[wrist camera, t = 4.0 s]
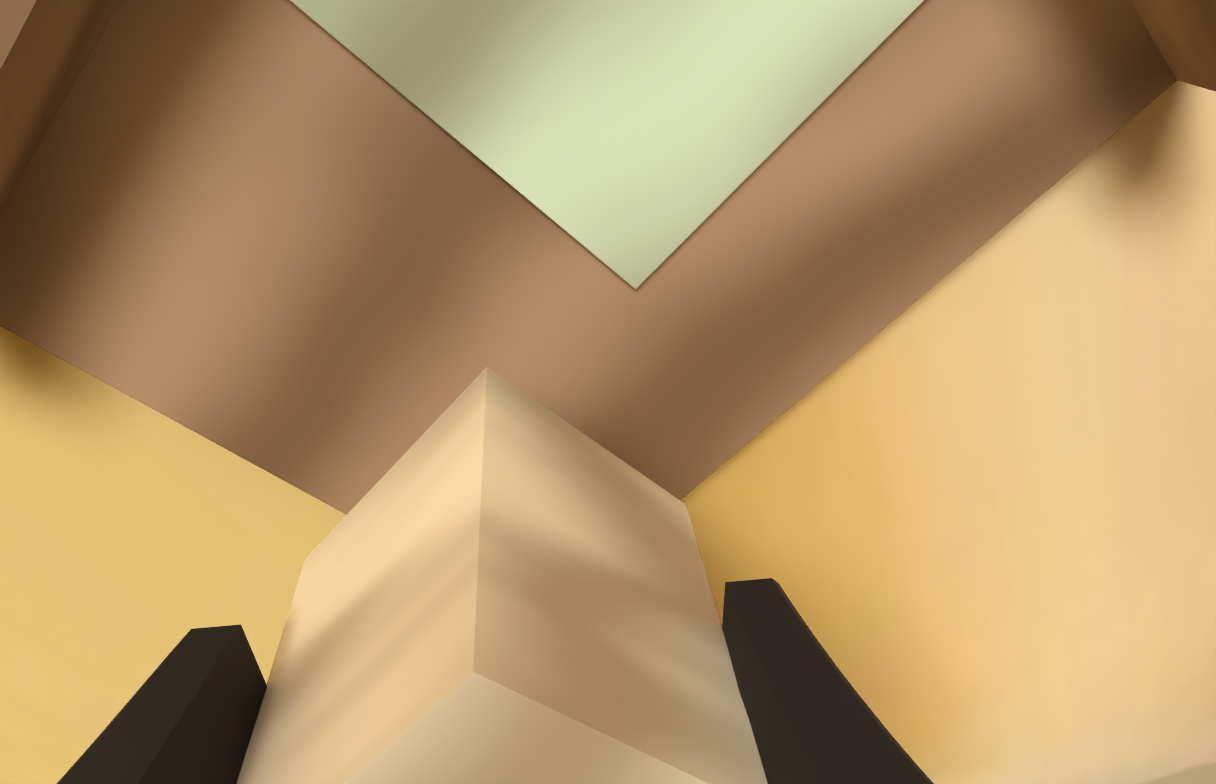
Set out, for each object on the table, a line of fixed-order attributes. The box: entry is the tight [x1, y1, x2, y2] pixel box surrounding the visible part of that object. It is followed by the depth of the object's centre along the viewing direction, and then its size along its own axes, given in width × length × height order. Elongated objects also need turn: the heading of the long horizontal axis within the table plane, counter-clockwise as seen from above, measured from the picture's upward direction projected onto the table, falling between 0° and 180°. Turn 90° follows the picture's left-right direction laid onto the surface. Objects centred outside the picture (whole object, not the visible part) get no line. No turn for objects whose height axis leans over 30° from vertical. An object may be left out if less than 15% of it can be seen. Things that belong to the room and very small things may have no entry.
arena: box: [0, 0, 1216, 515], centre depth 14 cm, size 16×20×4 cm
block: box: [237, 367, 768, 784], centre depth 10 cm, size 4×4×5 cm
